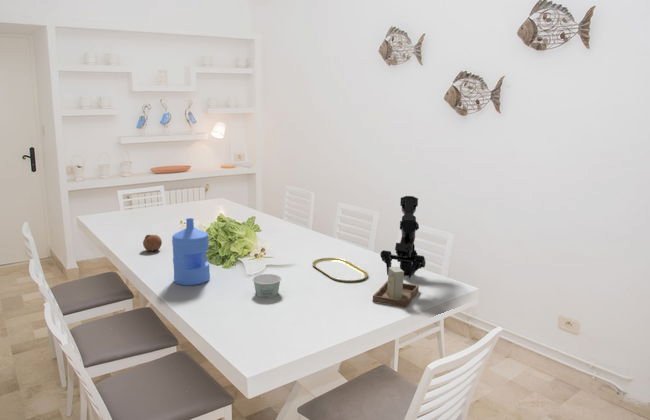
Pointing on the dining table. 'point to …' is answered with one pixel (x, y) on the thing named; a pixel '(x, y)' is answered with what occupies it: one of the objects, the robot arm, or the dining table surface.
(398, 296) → the skincare box
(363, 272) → the gold hoop ring
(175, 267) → the water jug
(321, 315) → the dining table surface
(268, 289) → the food container
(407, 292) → the walnut tray
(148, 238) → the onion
